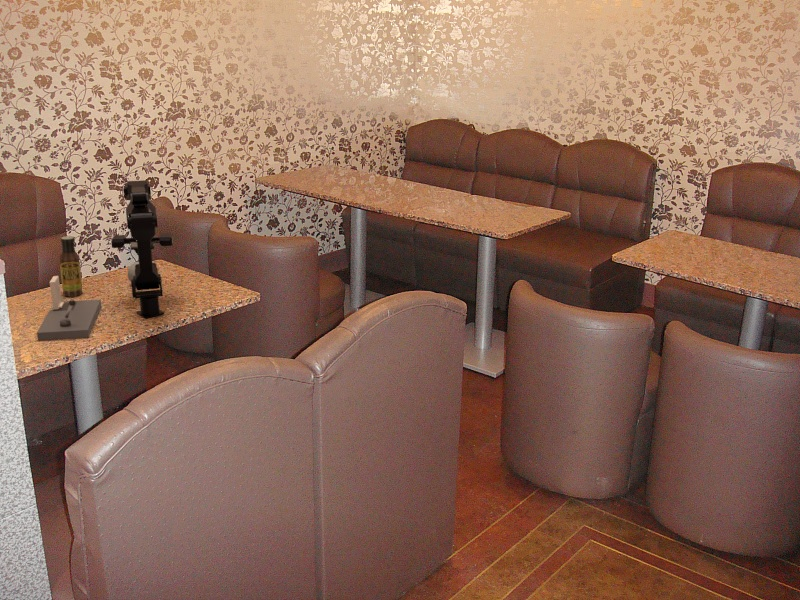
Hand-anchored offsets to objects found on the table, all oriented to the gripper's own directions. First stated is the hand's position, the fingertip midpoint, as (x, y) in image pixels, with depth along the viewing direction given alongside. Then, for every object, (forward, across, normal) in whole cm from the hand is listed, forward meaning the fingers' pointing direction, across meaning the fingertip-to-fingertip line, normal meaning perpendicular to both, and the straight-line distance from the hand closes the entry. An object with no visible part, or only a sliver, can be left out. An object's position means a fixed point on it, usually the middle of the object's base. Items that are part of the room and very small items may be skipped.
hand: (145, 265), depth 259 cm
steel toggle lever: (+7, +21, +25) cm, 33 cm away
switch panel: (+12, +21, +17) cm, 30 cm away
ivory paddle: (+9, +26, +9) cm, 29 cm away
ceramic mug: (+12, +2, -18) cm, 22 cm away
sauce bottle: (+12, +25, -10) cm, 30 cm away
